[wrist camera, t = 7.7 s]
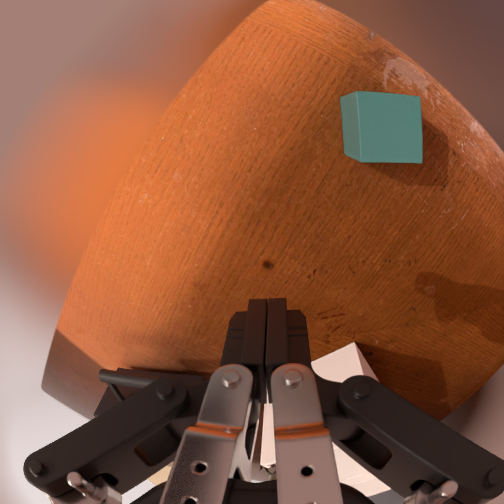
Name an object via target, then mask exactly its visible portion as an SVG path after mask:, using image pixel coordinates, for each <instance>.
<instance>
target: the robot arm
mask: <svg viewBox="0 0 504 504" xmlns="http://www.w3.org/2000/svg"><path fill="white" fill-rule="evenodd" d="M226 337H227V338H226V341H225V346H224V350H223V355H222V360H221V365H220V368H218V369H217V370H215V371H214V372H213V374H212V376H211V378H210V379H208V380H205V381H203V382H199V383H194V384H188V385H185V383H184V382H183V381H182V380H181V379H179V378H176V377H172V376H167V377H161V378H159V379H157V380H155V381H153V382H152V383H150V384H149V385H147V386H146V387H144V388H143V389H141V390H139V391H138V392H136V393H135V394H133V395H132V396H130V397H128V398H127V399H125V400H124V401H122V402H120V403H119V404H117V405H116V406H114V407H112V408H111V409H109V410H107V411H106V412H104V413H102V414H101V415H99V416H97V417H96V418H94V419H92V420H91V421H89V422H88V423H86V424H84V425H82V426H81V427H79V428H77V429H75V430H74V431H72V432H70V433H68V434H67V435H65V436H63V437H61V438H60V439H58V440H56V441H54V442H52V443H50V444H49V445H47V446H45V447H43V448H41V449H39V450H38V451H36V452H34V453H32V454H31V455H29V456H28V457H27V459H26V460H25V462H24V468H23V470H24V475H25V478H26V479H27V481H28V482H29V483H30V484H32V485H33V486H35V487H36V488H38V489H40V490H41V491H43V492H44V493H45V494H46V495H47V496H48V497H49V499H50V501H51V503H52V504H122V496H121V495H122V494H124V493H125V492H127V491H128V490H130V489H132V488H134V487H135V486H137V485H138V484H140V483H141V482H143V481H145V480H146V479H148V478H149V477H151V476H152V475H154V474H155V473H157V472H158V471H160V470H161V469H163V468H164V467H165V466H167V465H168V464H170V463H171V462H173V461H174V462H173V465H172V468H171V471H170V473H169V476H168V479H167V481H165V482H162V483H160V484H159V485H157V486H155V487H153V488H152V489H151V490H149V491H148V492H146V493H145V494H143V495H142V496H141V497H139V498H138V499H136V500H135V501H133V502H132V503H130V504H374V503H373V502H372V501H371V500H370V499H369V498H368V497H366V496H365V495H364V494H363V493H361V492H360V491H358V490H357V489H355V488H354V487H351V486H349V485H347V484H344V483H341V482H339V476H338V471H337V465H336V460H335V454H334V449H333V444H332V442H333V443H334V444H335V445H336V446H337V447H339V448H340V449H341V450H342V451H343V452H345V453H346V454H347V455H348V456H349V457H351V458H352V459H353V460H354V461H356V462H357V463H358V464H359V465H361V466H362V467H363V468H364V469H366V470H367V471H368V472H370V473H371V474H372V475H373V476H375V477H376V478H377V479H379V480H380V481H381V482H383V483H384V484H385V485H387V486H388V487H390V488H391V489H392V490H394V491H395V492H397V493H398V494H399V495H401V496H402V497H404V498H405V501H404V504H485V503H487V502H488V501H490V500H492V499H494V498H495V497H497V496H499V495H500V494H501V493H502V492H503V491H504V460H502V459H501V458H499V457H497V456H496V455H494V454H492V453H490V452H489V451H487V450H485V449H483V448H482V447H480V446H478V445H477V444H475V443H473V442H472V441H470V440H468V439H467V438H465V437H464V436H462V435H460V434H459V433H457V432H455V431H454V430H452V429H451V428H449V427H447V426H445V425H444V424H443V423H441V422H439V421H438V420H436V419H435V418H433V417H432V416H430V415H428V414H427V413H425V412H424V411H422V410H421V409H419V408H418V407H416V406H415V405H413V404H411V403H410V402H408V401H407V400H405V399H404V398H402V397H401V396H399V395H398V394H396V393H395V392H393V391H392V390H390V389H389V388H387V387H386V386H384V385H383V384H381V383H380V382H378V381H377V380H375V379H374V378H372V377H369V376H366V375H355V376H351V377H349V378H347V379H346V380H344V381H343V382H342V383H341V382H335V381H330V380H326V379H324V378H322V377H320V376H319V375H317V374H316V373H315V372H314V370H313V368H312V365H311V358H310V349H309V340H308V332H307V324H306V317H305V316H304V315H303V313H302V312H301V311H300V310H287V306H286V298H271V299H268V301H267V299H249V304H248V311H246V312H236V313H235V314H234V316H233V317H232V318H231V319H230V322H229V327H228V331H227V336H226ZM267 390H268V401H269V404H272V407H273V423H274V440H275V458H276V476H277V479H275V480H270V481H265V482H260V483H251V473H252V459H253V453H254V448H255V442H256V436H257V430H258V424H259V416H260V404H267Z"/></svg>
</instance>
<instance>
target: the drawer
mask: <svg viewBox="0 0 504 504" xmlns="http://www.w3.org/2000/svg"><path fill="white" fill-rule="evenodd" d="M167 376H172V377H176V378H179V379H181V380H182V381H183V382H184V383H185V385H188V384H194V383H199V382H203V381H205V377H204V376H200V375H182V374H169V373H158V372H148V371H139V370H131V369H123V368H118V369H117V371H113V370H106V369H101V370H100V372H99V379H100V381H102V382H106V383H107V384H108V388H107V389H106V391H105V393H104V395H103V397H102V399H101V401H100V403H99V405H98V407H97V409H96V411H95V413H94V416H95V417H97V416H99V415H101V414H102V413H104V412H106V411H107V410H109V409H111V408H112V407H114V406H116V405H117V404H119V403H120V402H122V401H124V400H125V399H127V398H128V397H130V396H132V395H133V394H135V393H136V392H138V391H139V390H141V389H143V388H144V387H146V386H147V385H149V384H150V383H152V382H153V381H155V380H157V379H159V378H161V377H167ZM173 462H174V461H173Z"/></svg>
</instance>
